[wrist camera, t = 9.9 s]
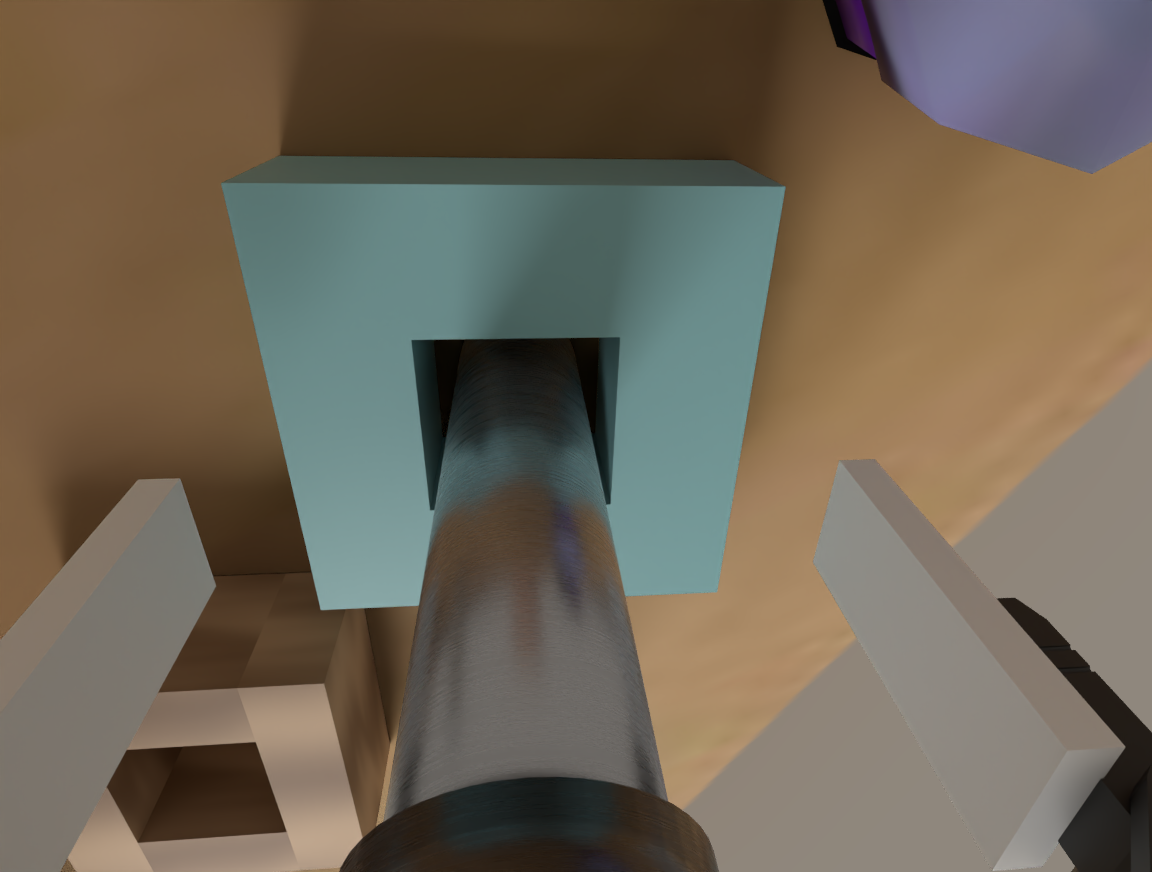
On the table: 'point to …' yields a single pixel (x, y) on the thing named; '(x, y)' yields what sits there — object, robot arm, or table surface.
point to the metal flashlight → (525, 653)
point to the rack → (251, 743)
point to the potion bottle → (1016, 69)
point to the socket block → (504, 311)
